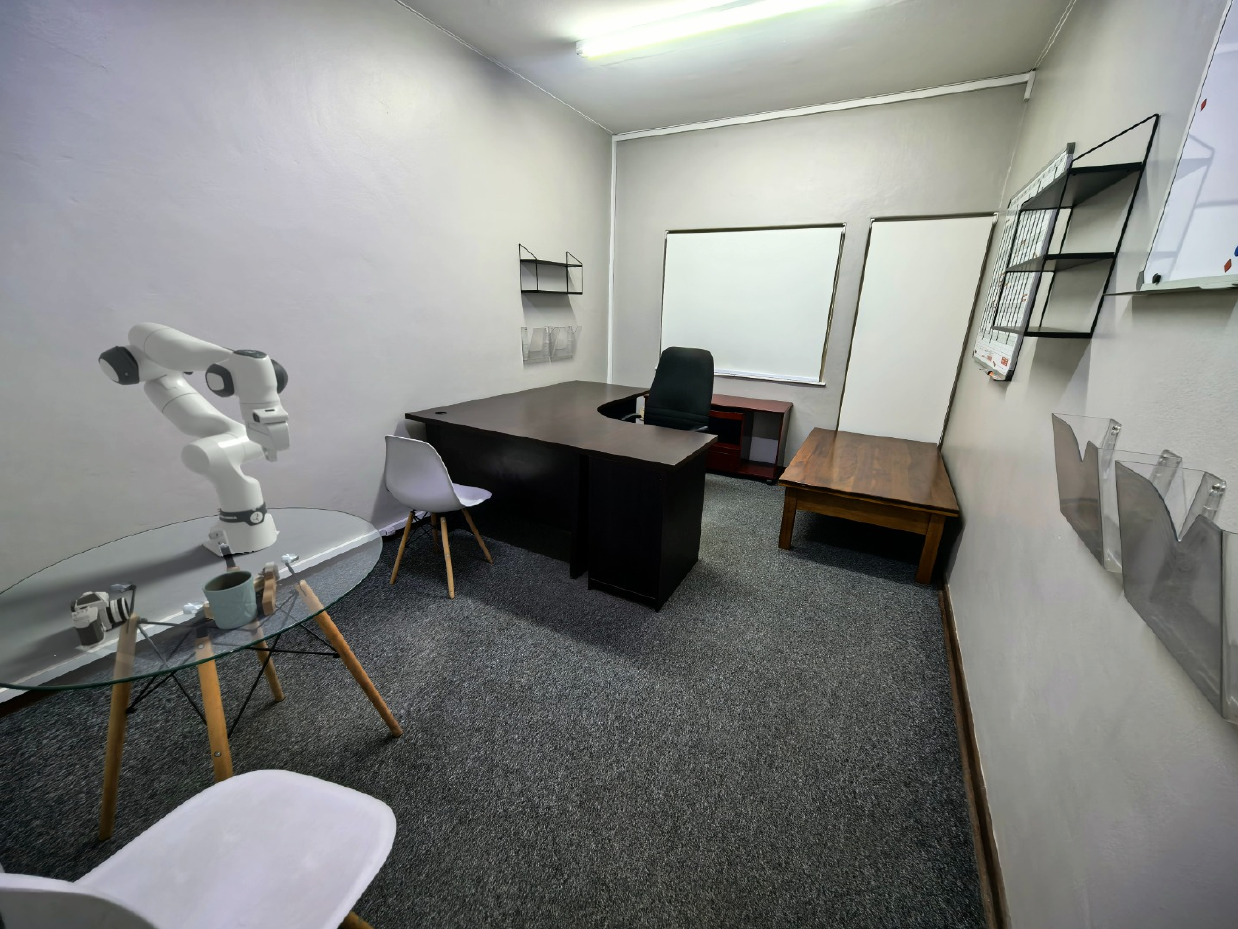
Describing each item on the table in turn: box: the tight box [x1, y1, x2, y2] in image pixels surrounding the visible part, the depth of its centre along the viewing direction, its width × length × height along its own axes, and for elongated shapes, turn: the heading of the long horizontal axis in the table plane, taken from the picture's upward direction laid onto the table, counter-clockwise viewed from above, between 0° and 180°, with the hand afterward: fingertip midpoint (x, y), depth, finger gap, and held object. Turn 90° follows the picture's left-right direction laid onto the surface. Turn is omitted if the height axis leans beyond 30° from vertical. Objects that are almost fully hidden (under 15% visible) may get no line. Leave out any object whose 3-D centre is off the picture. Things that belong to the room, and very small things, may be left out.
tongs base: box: [202, 564, 281, 620], centre depth 129 cm, size 20×4×6 cm, turn 166°
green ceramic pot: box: [201, 569, 259, 630], centre depth 119 cm, size 10×10×12 cm
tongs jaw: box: [261, 561, 277, 616], centre depth 130 cm, size 20×2×6 cm, turn 33°
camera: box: [70, 591, 131, 649], centre depth 114 cm, size 16×9×10 cm, turn 45°
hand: (271, 460), depth 126 cm, fingers closed
